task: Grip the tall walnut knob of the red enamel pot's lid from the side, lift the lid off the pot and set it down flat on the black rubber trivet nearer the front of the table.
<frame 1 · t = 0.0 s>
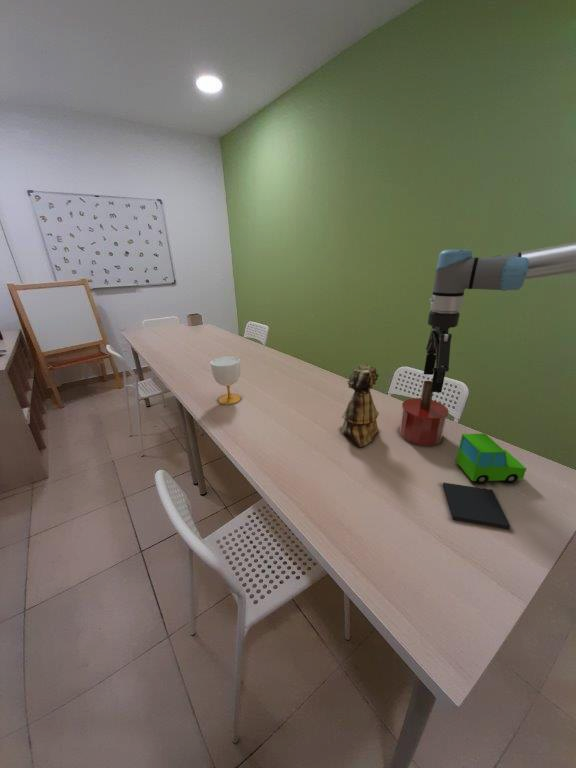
hand: (431, 382, 90), 19 cm above the table, tool pointing down, fingers open, 13 cm apart
cup: (229, 399, 126), on the table
lid: (424, 409, 94), point 9 cm above the table, touching pot
trivet: (472, 505, 70), on the table
pot: (419, 434, 98), on the table
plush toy: (356, 434, 99), on the table
toy car: (487, 474, 80), on the table
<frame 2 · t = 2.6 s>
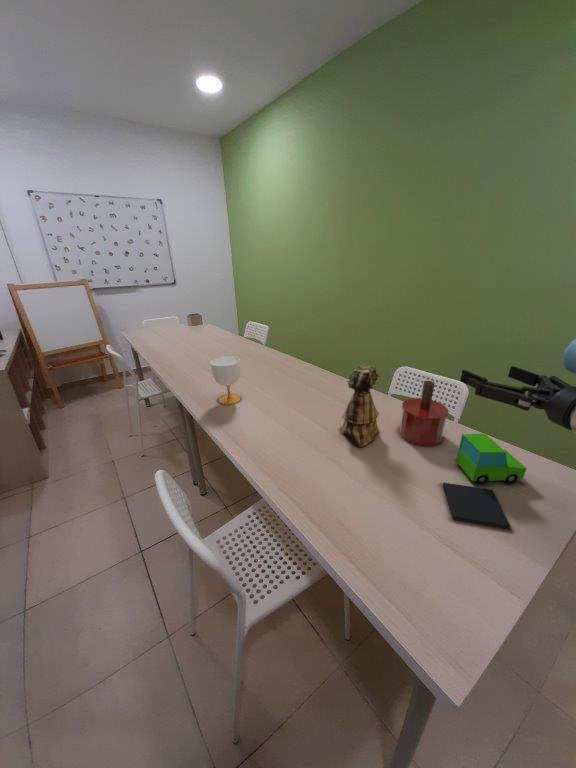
hand: (486, 373, 72), 28 cm above the table, tool horizontal, fingers open, 13 cm apart
nothing on the table moved.
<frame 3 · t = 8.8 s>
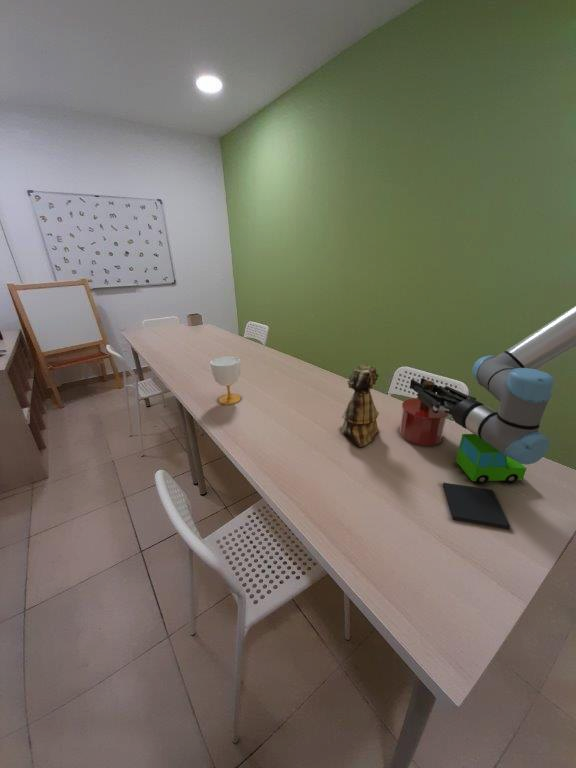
hand: (416, 382, 96), 16 cm above the table, tool horizontal, fingers closed on lid, 3 cm apart
lid: (424, 409, 94), point 9 cm above the table, touching gripper, pot
everything else where it was.
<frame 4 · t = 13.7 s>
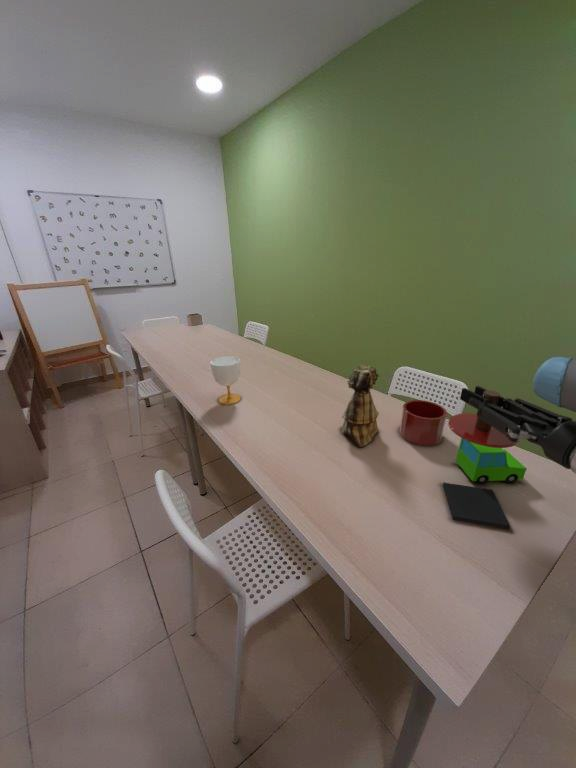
hand: (469, 392, 69), 25 cm above the table, tool horizontal, fingers closed on lid, 3 cm apart
lid: (482, 430, 66), point 18 cm above the table, touching gripper
everything else where it was.
when the fingers open (8 cm above the table, at t = 18.7 s): lid stays where it is, resting on trivet.
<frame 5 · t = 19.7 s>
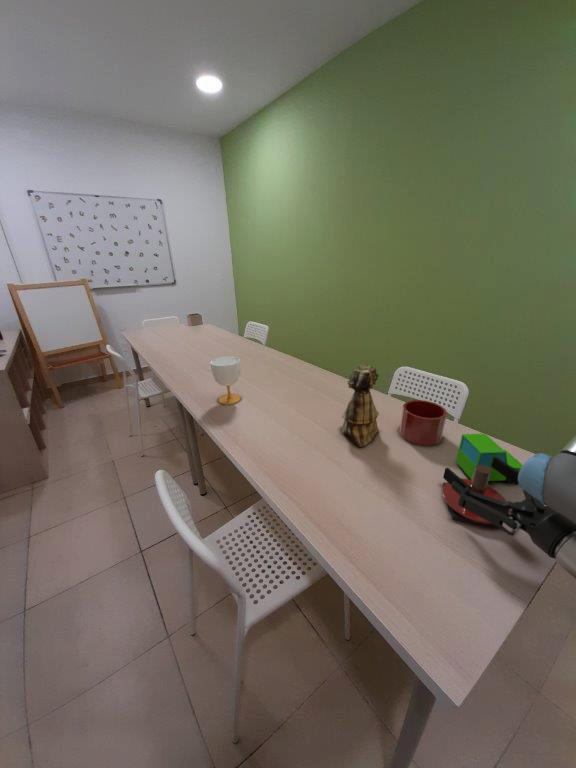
hand: (469, 466, 70), 9 cm above the table, tool horizontal, fingers open, 13 cm apart
lid: (474, 500, 70), point 2 cm above the table, touching trivet
everything else where it was.
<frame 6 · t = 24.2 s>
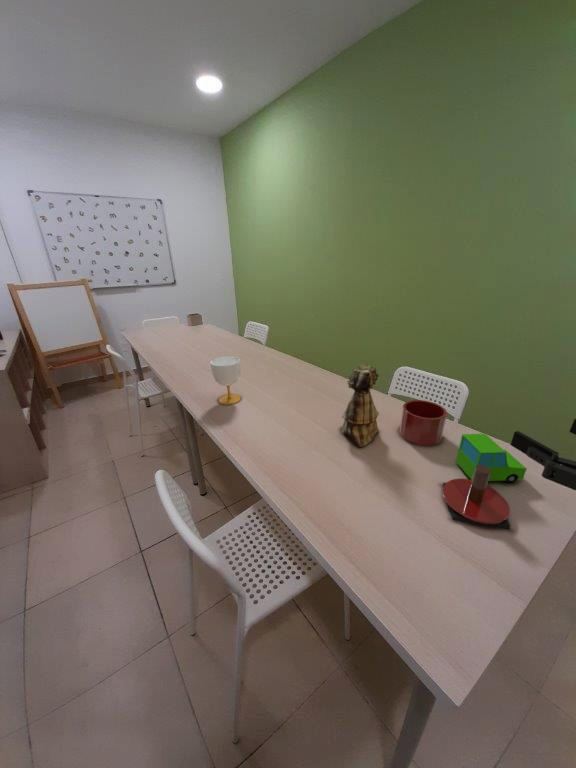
hand: (544, 431, 53), 25 cm above the table, tool horizontal, fingers open, 13 cm apart
nothing on the table moved.
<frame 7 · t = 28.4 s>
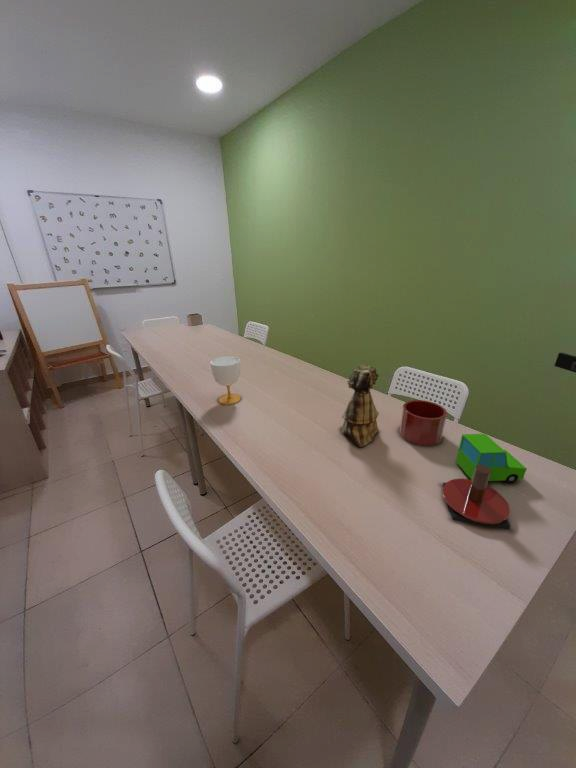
nothing on the table moved.
at the end: lid 0.0 cm off-centre on the trivet, point 1.6 cm above the trivet's base; lid tilted 0°; the gripper is holding nothing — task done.
